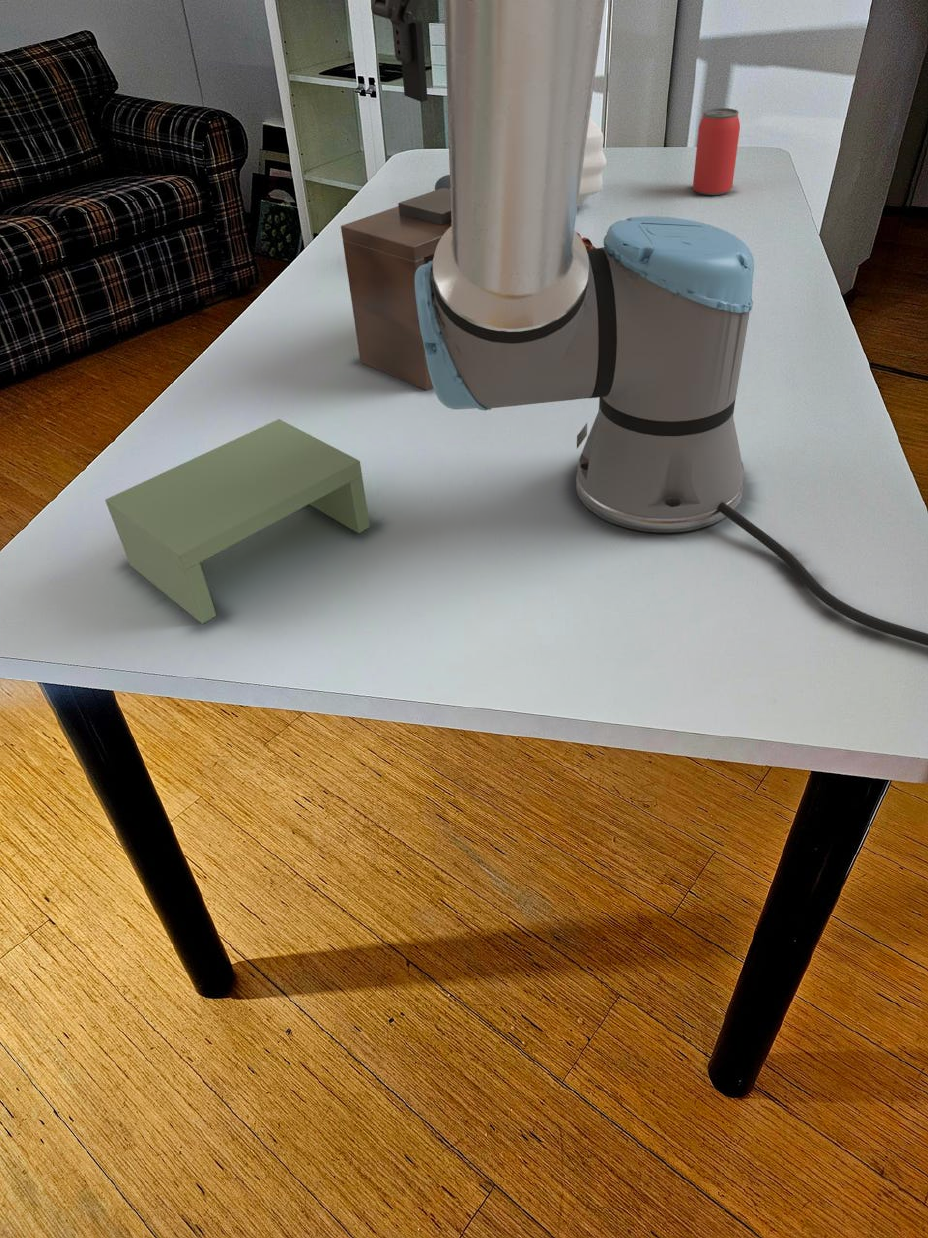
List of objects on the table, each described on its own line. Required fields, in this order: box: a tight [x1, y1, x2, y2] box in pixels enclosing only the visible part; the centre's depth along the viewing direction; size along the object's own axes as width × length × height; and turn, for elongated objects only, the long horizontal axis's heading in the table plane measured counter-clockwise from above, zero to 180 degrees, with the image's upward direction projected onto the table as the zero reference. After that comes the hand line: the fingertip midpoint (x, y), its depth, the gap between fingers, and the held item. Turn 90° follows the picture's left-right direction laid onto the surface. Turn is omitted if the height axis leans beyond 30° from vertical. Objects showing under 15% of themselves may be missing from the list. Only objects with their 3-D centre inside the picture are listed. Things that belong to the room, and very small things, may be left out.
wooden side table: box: [340, 188, 452, 391], centre depth 105 cm, size 12×20×16 cm, turn 135°
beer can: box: [692, 107, 741, 196], centre depth 148 cm, size 7×7×12 cm
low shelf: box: [104, 418, 371, 625], centre depth 78 cm, size 12×18×7 cm, turn 135°
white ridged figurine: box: [578, 117, 607, 206], centre depth 146 cm, size 11×18×16 cm, turn 21°
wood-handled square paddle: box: [397, 188, 451, 225], centre depth 96 cm, size 16×7×2 cm, turn 45°
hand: (469, 79), depth 89 cm, fingers open, 13 cm apart
